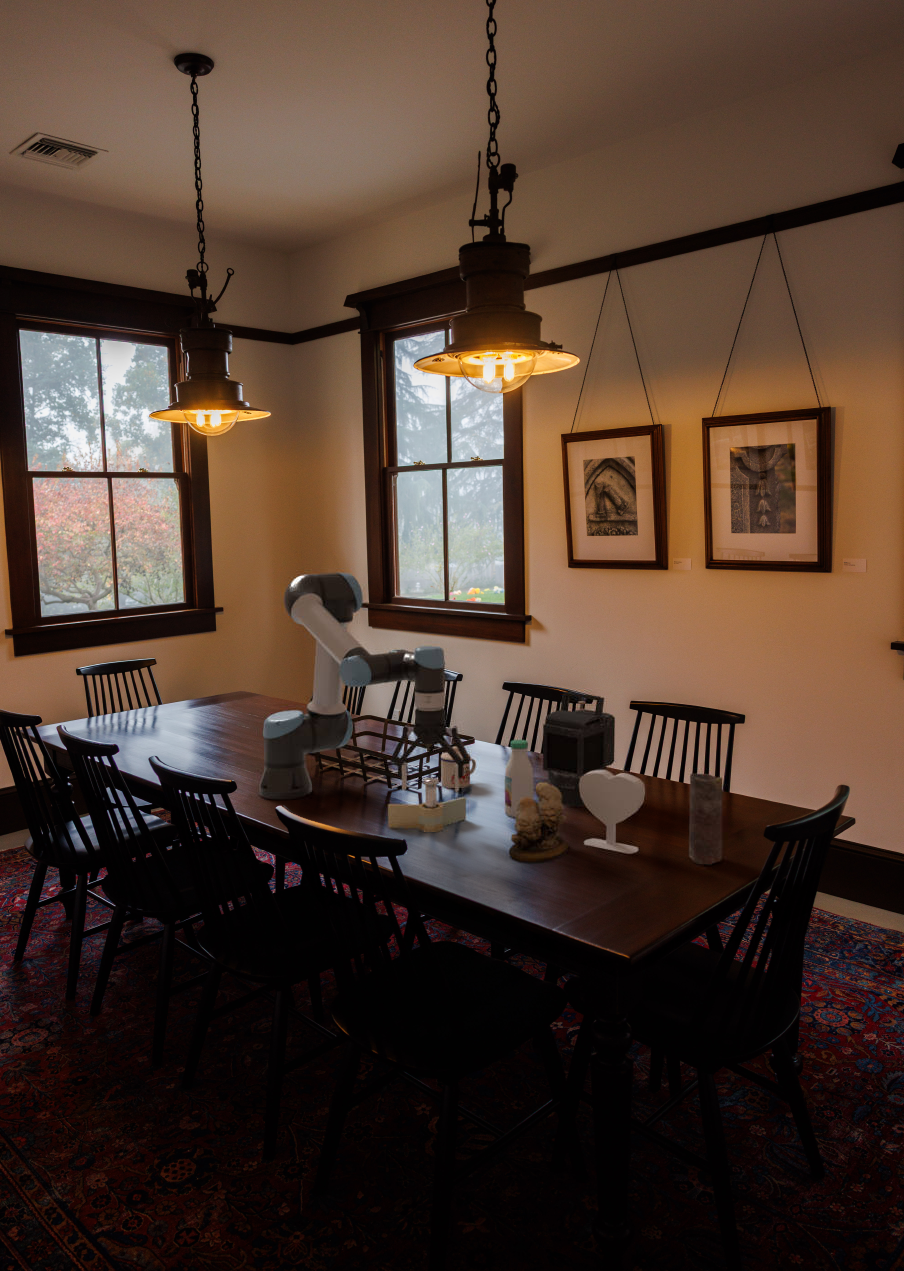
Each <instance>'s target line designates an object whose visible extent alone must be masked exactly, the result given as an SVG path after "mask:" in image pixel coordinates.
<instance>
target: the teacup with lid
mask: <svg viewBox="0 0 904 1271" xmlns="http://www.w3.org/2000/svg"><path fill="white" fill-rule="evenodd" d="M452 748H453V749H454V750H455V751H456V753H457V754H458V755H459V756H460V757H461V758H462V756H461V754H460V752H459V750H458V748H457V746H452ZM468 755H469V757H470V762H469V764H465V765H463V777H462V778H459V788H461V789H465V787H466V788H468V787H469V786H470V785H471V775H472V774H473V773H474V772H475V770H476V768H477V766H476V765H477V762H476V760H475V759H474V758H472V757H471V755H470V754H469V753H468ZM462 759H463V758H462ZM471 763H472V765H471ZM456 764H457V763H456V762H455V761H454V760H453V759H452V757H451V756H450V755H449V754H448V753H447V752H443V753H442V754H441V755H440V767H441V768H440V769H441V773H440V774H441V777H440V779H441V782H440V783H441V786H442V787H444V788H446V789H450V788H455V765H456Z"/></svg>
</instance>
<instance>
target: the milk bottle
mask: <svg viewBox="0 0 904 1271" xmlns="http://www.w3.org/2000/svg"><path fill="white" fill-rule="evenodd" d="M528 747H529V741H527V740H525V739H513V740H511V741H510V750H511V751H510V752H511V753H510V757H509V760H507V761H508V762H507V764H506V766H505V772H504V813H505V815H506V816H509V817H512V818H516V813H517V807H518V805H519V803H520V799H521V798H523V797H529V798H532V799H533V800H534V798H535V797H534V792H535V791H534V784H535V783H534V780H535V779H534V769H533V765H532V762H531V761H530V758H529V756H528V750H529V748H528Z"/></svg>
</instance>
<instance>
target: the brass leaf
mask: <svg viewBox="0 0 904 1271" xmlns="http://www.w3.org/2000/svg"><path fill="white" fill-rule="evenodd" d="M443 813H444V805H443V804H441V802H438V801H437V808H433V809H431V808H426V802H423V803H419V804H405V803H404V804H399V803H398V804H397V803H389V804H388V805H387V823H388V825H387V826H388V829H400V828H399V827H403V828H402V829H410V828H419V829H420V830H422V831H425V832H436V833H438V832H437V831H439V832H442V831H441V830H443V831H444V827H445V826H444V820H443V823H441V824H437V825H424V824H421V823H419V822H418V815H420V816H423V817H433V818H434V817H438V816H442V815H443ZM419 829H418V830H419ZM420 830H419V831H420ZM422 831H421V832H422ZM425 832H424V833H425Z"/></svg>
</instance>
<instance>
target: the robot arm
mask: <svg viewBox="0 0 904 1271" xmlns="http://www.w3.org/2000/svg"><path fill="white" fill-rule="evenodd" d="M363 602H364V601H363V590H362V588H361V584H360V583H359V581H358V579H357V578H356V576H354V575H353V574H351V573H347V572H346V573H345V572H330V573H329V572H328V573H307V574H306V573H304V574H302V575H298V576H297V577H296V578H294V579H293V580H291V581H290V582H289V584H288V585H287V586H286V589H285V591H284V594H283V605H284V609H285V611H286V613H287V614H288V616H289V617H290V618H291V619H292V621H294V622H295V624H298V625H303V627H304V628H305V629H306V630H307V631H308V632H309V633H310V634H311V635H312V637H314V638H315V641H316V642H315V656H314V657H315V658H314V659H315V661H314V673H313V690H312V700H311V701H310V702H309V703H307V706H306V713H305V714H304V712H303V711H301V710H294V709H293V710H284V711H279V712H275V713H273V714H271V715H269V716H267V717H266V719H264V722H263V732H262V736H263V749H264V750H263V751H264V752H263V753H264V754H263V755H264V770H263V773H262V775H261V776H262V777H261V779H260V783H259V795H260V797H262V798H264V799H268V800H269V799H270V800H281V801H282V800H292V799H299V798H303V797H305V796H307V795H310V794H311V793H312V791H313V787H312V786H313V785H312V780H311V778H310V775H309V772H308V770H307V766H306V755H308V754H311V753H313V754H315V753H319V752H325V751H332V750H335V749H339V748H342V747H344V746H345V745H346V744H348V743H349V741H350V739H351V737H352V734H353V731H354V730H353V729H354V724H353V723H354V722H353V721H352V715H351V713H350V711H348V710H347V707H346V705H345V704H344V703H343V701H342V698H343V689H344V688H343V686H347V687H349V688H354V687H357V688H358V687H359V688H362V687H366V686H372V685H380V684H386V683H393V682H401V681H402V682H403V681H408V682H413V683H414V706H415V707H416V709H415V710H414V721H415V722H414V723H415V724H414V726H409V725H408V724H406V725H404V727H403V728H402V734H401V737H400V738H399V740H398V743H397V745H396V747H395V749H394V751H393V754H392V755H391V757H390V762H392V763H396V764H397V776H398V777H400V778H401V791H406V789H407V787H408V784H407V782H408V781H407V779H408V778H407V776H408V775H407V774H408V773H407V768H408V767H407V762H405V761H406V759H408V757H409V756H410V755H411V753H413V752H414V750H415V749H416V748H417V747H418V746H419V745H420V743H421V744H422V745H426V746H427V745H433V746H437V745H440V747H441V748H443V749H444V751H445V753H448V754H449V755H450V756H451V757H452V759H453V760H454V761H455V762H456V763H457V764H456V765H455V789H454V792H457V793H458V792H459V790H460V789H459V778H462V777H463V765H465V764H469V762H470V763H471V761H470V757H471V756H470V757H469V755H470V754H469V753H468V751H467V749H466V747H465V745H464V743H463V741H462V739H461V737H460V735H459V731H458V726H456V725H453V726H452V727H451V726H450V727H446V710H445V708H444V707H445V705H446V704H445V702H446V699H445V698H446V696H445V695H446V694H445V693H446V692H445V684H446V683H445V674H446V673H445V665H446V662H445V654H444V653H445V651H444V649H443V648H442V647H440V646H433V645H426V646H425V645H423V646H417V647H416V648H415V649H414V651H409V650H406V649H392V650H391V651H388V652H386V653H385V652H384V653H376V654H375V653H373V654H371V653H370V652H369V651H368V650H367V649H365V647H364V646H363V645H362V644H361V643H360V642H359V641H358V639H356V638H355V637H354V636H353V635H352V634H351V633H350V632H349V630H348V626H349V625H350V624H351V623H352V622H353V619H354V613H357V612H358V611H360V609H361V607H362V606H363ZM412 733H413V734H414V735H415V736H416V739H414V741H413V742H412V744H411V745H410V746H409V747H408V748H407V749H406V750H405V751H404V752H403V754H402V755H401V756H400V757H399V754H400V752H401V750H402V748H403V746H404V743H406V740H407V738H408V736H410V735H411V734H412ZM446 734H448V735H449V736H450V737H452V739H453V742H454V744H455V747H457V748H458V750H459V752H460V754H461V756H462V758H463V759H462V758H461V757H460V756H459V755H458V754H457V753H456V751H455V750H454V749H453V746H452V745H450V742H448V740H447V738H445V735H446ZM468 754H469V755H468Z"/></svg>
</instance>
